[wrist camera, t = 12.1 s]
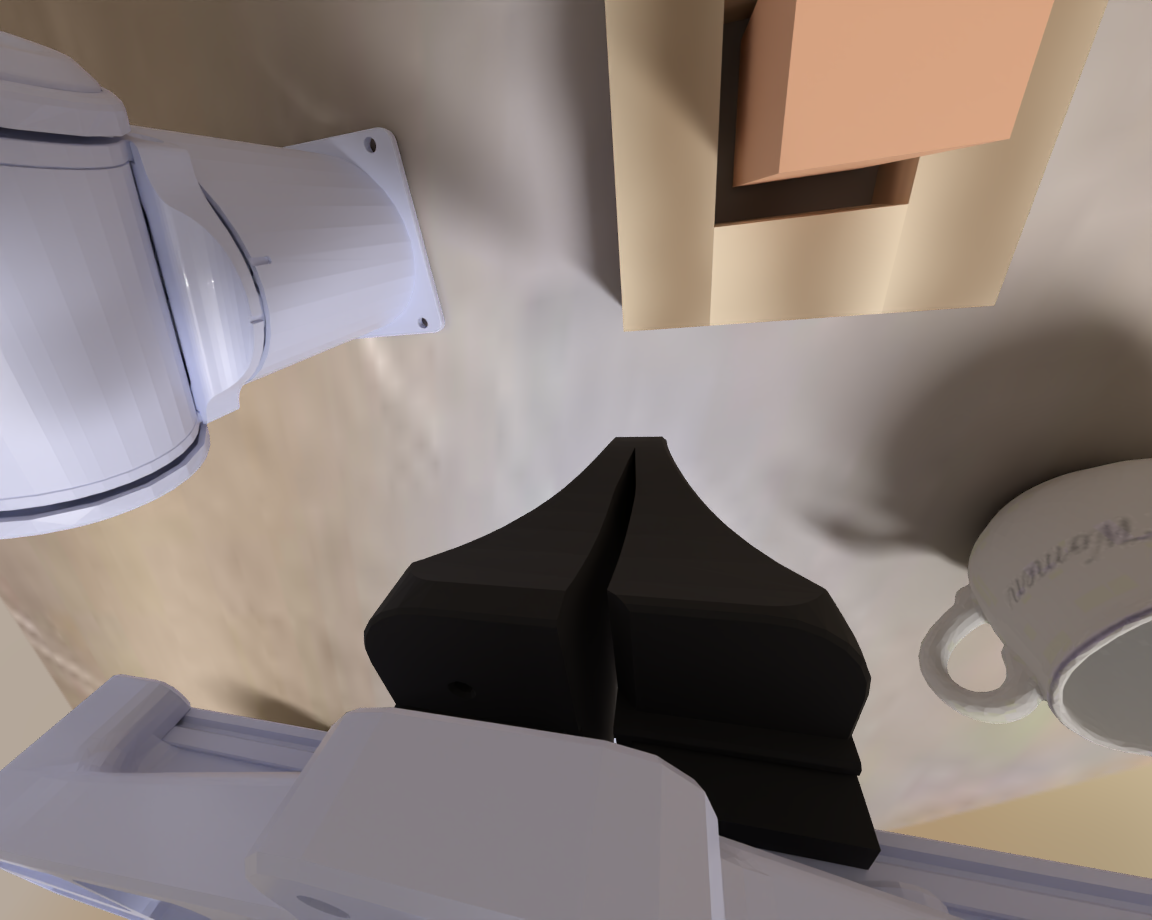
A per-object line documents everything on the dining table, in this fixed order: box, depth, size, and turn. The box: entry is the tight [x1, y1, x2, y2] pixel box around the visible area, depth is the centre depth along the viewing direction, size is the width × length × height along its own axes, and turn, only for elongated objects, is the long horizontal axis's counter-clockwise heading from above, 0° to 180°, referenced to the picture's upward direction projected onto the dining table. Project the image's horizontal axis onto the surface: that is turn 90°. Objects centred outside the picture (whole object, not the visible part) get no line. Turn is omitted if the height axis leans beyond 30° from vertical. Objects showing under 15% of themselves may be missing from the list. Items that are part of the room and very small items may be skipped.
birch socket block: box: [605, 0, 1108, 332], centre depth 13 cm, size 12×12×3 cm
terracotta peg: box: [732, 0, 1054, 188], centre depth 11 cm, size 4×4×8 cm
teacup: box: [919, 458, 1152, 756], centre depth 17 cm, size 14×11×8 cm
